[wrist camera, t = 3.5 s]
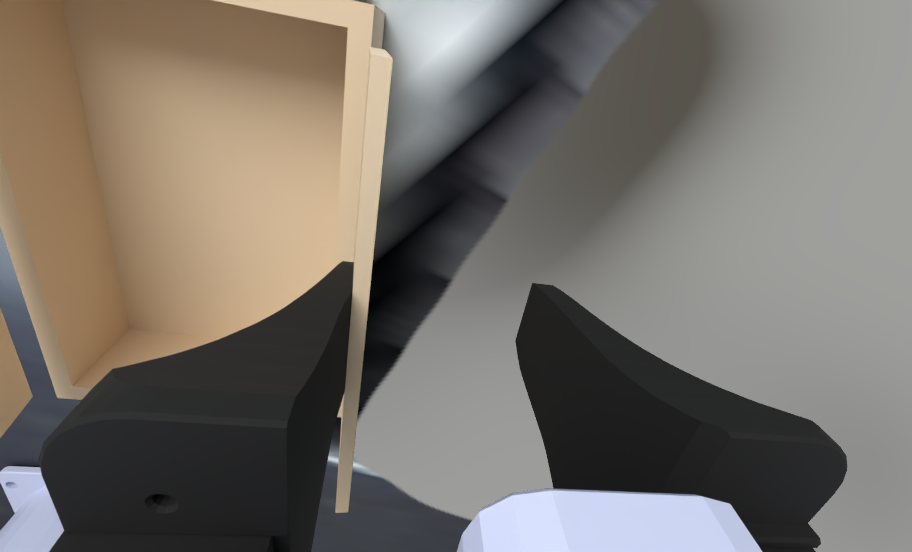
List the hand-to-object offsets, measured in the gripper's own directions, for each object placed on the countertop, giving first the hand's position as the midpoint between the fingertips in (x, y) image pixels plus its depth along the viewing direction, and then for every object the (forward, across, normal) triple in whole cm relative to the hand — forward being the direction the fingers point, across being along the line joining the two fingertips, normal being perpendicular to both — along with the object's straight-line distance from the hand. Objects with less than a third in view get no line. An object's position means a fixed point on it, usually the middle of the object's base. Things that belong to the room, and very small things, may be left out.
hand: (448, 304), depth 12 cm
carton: (+6, +8, 0) cm, 10 cm away
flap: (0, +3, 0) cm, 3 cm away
